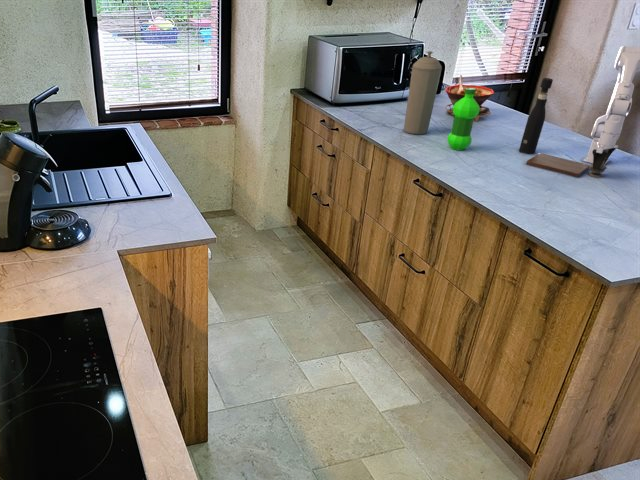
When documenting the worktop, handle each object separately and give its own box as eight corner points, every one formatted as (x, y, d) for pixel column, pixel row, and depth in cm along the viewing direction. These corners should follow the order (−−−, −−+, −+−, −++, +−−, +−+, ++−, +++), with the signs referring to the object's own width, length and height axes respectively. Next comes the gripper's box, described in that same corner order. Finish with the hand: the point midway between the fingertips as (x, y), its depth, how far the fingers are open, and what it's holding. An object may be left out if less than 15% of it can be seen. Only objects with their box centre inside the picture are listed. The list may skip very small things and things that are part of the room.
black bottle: (535, 150, 255) (556, 78, 239) (534, 155, 250) (556, 81, 234) (519, 148, 257) (539, 76, 241) (518, 152, 252) (538, 79, 236)
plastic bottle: (473, 148, 256) (487, 88, 243) (462, 154, 250) (476, 93, 236) (452, 142, 262) (464, 84, 248) (441, 148, 255) (453, 88, 242)
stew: (436, 104, 315) (443, 73, 306) (483, 107, 312) (490, 75, 304) (444, 119, 292) (451, 86, 283) (495, 122, 289) (503, 88, 280)
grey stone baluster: (605, 178, 229) (616, 148, 222) (589, 177, 230) (600, 146, 223) (600, 173, 234) (611, 143, 227) (585, 171, 235) (595, 142, 228)
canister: (399, 133, 272) (412, 52, 253) (403, 126, 282) (417, 47, 263) (427, 137, 268) (443, 55, 249) (431, 129, 278) (446, 50, 259)
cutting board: (539, 156, 249) (540, 152, 248) (589, 168, 238) (590, 165, 237) (526, 164, 241) (527, 160, 240) (577, 177, 229) (578, 173, 228)
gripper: (616, 138, 216) (603, 174, 223) (627, 130, 225) (614, 164, 232) (595, 134, 220) (583, 169, 227) (607, 126, 229) (595, 160, 236)
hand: (598, 166), depth 230 cm, fingers closed on grey stone baluster, 6 cm apart
